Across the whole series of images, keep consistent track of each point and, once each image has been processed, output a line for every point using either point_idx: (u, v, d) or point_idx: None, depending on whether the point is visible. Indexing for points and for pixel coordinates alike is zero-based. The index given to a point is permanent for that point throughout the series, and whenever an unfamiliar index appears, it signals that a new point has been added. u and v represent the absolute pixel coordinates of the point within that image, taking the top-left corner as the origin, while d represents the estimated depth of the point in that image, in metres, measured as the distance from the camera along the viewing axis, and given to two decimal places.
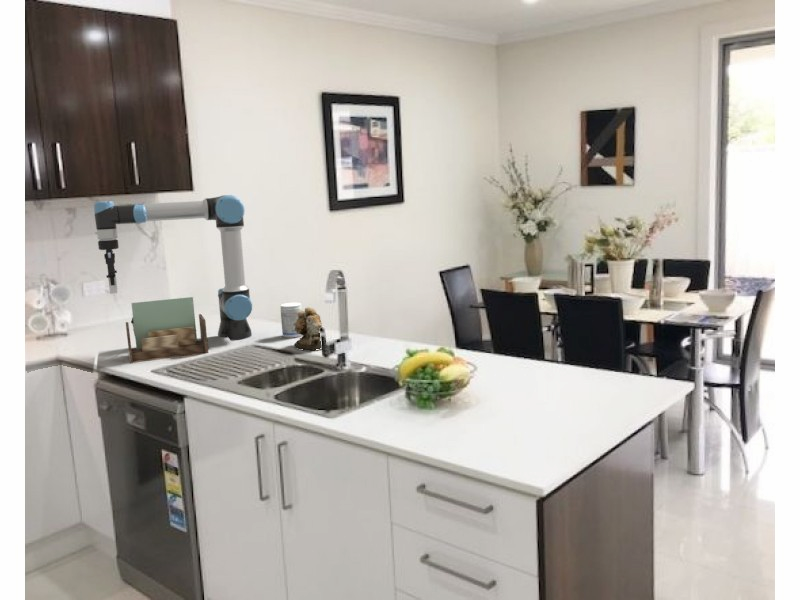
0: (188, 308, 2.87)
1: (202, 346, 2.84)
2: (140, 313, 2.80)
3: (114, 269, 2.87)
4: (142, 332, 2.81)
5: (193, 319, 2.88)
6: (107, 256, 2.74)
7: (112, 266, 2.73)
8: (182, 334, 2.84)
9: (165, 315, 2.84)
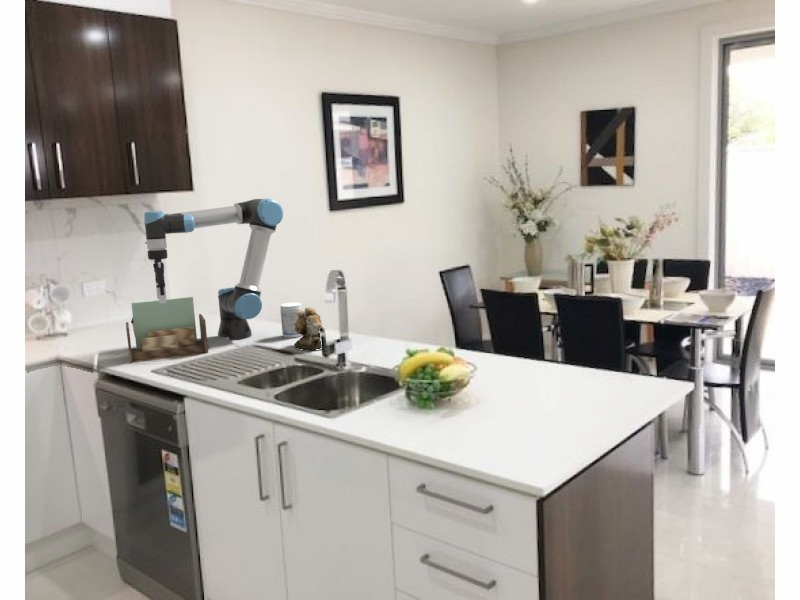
0: (188, 308, 2.87)
1: (202, 346, 2.84)
2: (140, 313, 2.80)
3: None
4: (142, 332, 2.81)
5: (193, 319, 2.88)
6: (157, 266, 2.74)
7: (162, 276, 2.73)
8: (182, 334, 2.84)
9: (165, 315, 2.84)
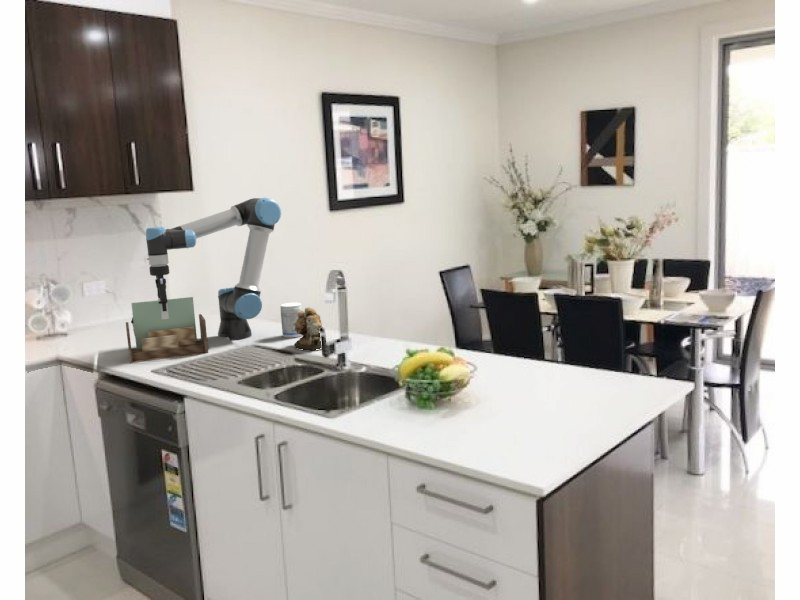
0: (188, 308, 2.87)
1: (202, 346, 2.84)
2: (140, 313, 2.80)
3: None
4: (142, 332, 2.81)
5: (193, 319, 2.88)
6: (159, 282, 2.75)
7: (164, 292, 2.74)
8: (182, 334, 2.84)
9: None
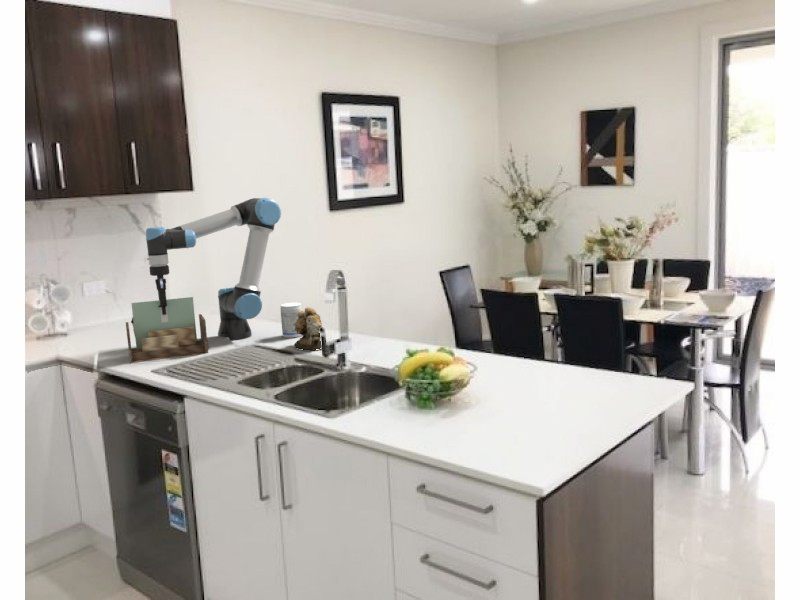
0: (188, 308, 2.87)
1: (202, 346, 2.84)
2: (140, 313, 2.80)
3: None
4: (142, 332, 2.81)
5: (193, 319, 2.88)
6: (160, 287, 2.76)
7: (164, 297, 2.78)
8: (182, 334, 2.84)
9: None
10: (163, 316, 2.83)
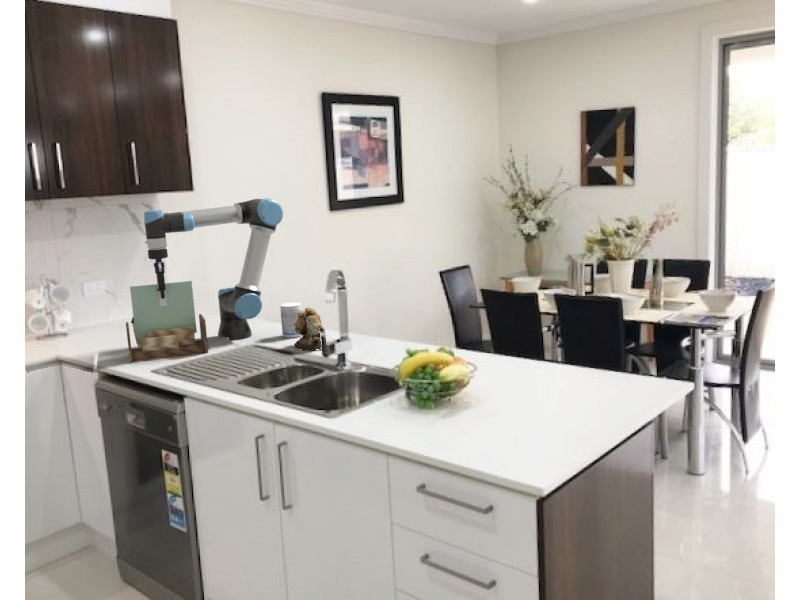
0: (187, 292, 2.86)
1: (202, 346, 2.84)
2: (139, 297, 2.79)
3: None
4: (141, 315, 2.80)
5: (191, 303, 2.87)
6: (158, 270, 2.75)
7: (163, 280, 2.77)
8: (182, 334, 2.84)
9: None
10: (162, 300, 2.82)
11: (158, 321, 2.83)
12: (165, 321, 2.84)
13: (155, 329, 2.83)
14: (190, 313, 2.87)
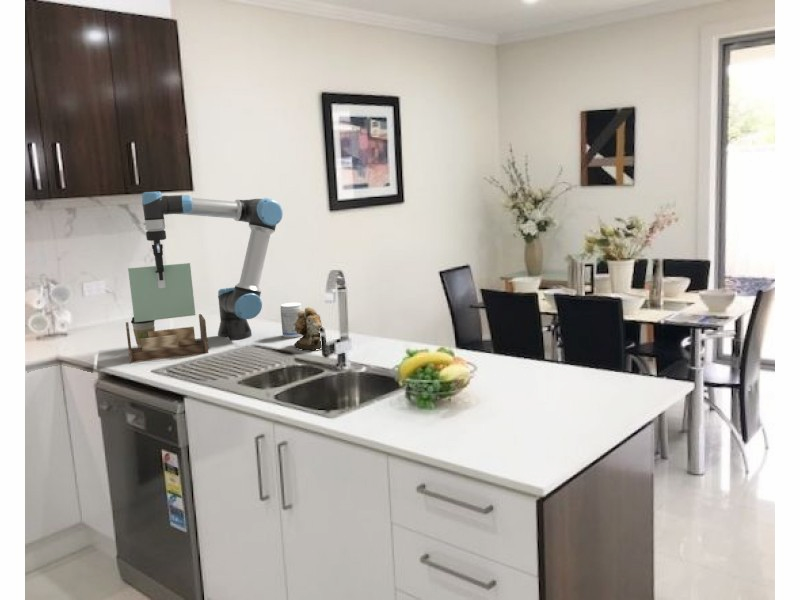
0: (185, 274, 2.84)
1: (202, 346, 2.84)
2: (137, 279, 2.77)
3: None
4: (139, 297, 2.79)
5: (190, 285, 2.86)
6: (156, 252, 2.74)
7: (161, 262, 2.76)
8: (182, 334, 2.84)
9: None
10: (160, 282, 2.80)
11: (156, 303, 2.82)
12: (163, 303, 2.83)
13: (153, 311, 2.82)
14: (189, 295, 2.86)
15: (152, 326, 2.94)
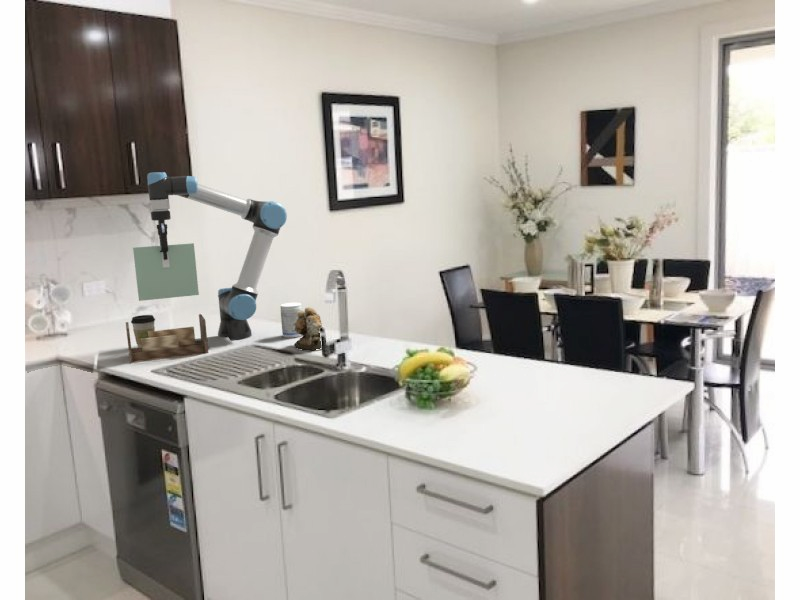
0: (189, 254, 2.89)
1: (202, 346, 2.84)
2: (142, 258, 2.82)
3: None
4: (144, 276, 2.83)
5: (194, 265, 2.90)
6: (161, 231, 2.79)
7: (166, 241, 2.81)
8: (182, 334, 2.84)
9: None
10: (164, 261, 2.85)
11: (161, 282, 2.86)
12: (167, 283, 2.87)
13: (158, 290, 2.86)
14: (192, 275, 2.91)
15: (152, 326, 2.94)
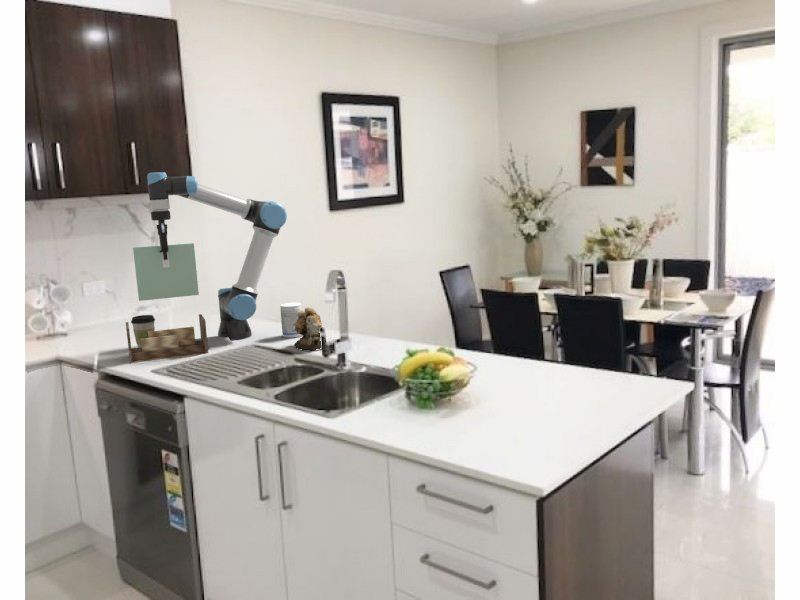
0: (189, 254, 2.89)
1: (202, 346, 2.84)
2: (142, 258, 2.82)
3: None
4: (144, 276, 2.83)
5: (194, 265, 2.90)
6: (161, 231, 2.79)
7: (166, 241, 2.81)
8: (182, 334, 2.84)
9: None
10: (164, 261, 2.85)
11: (161, 282, 2.86)
12: (167, 283, 2.87)
13: (158, 290, 2.86)
14: (192, 275, 2.91)
15: (152, 326, 2.94)
